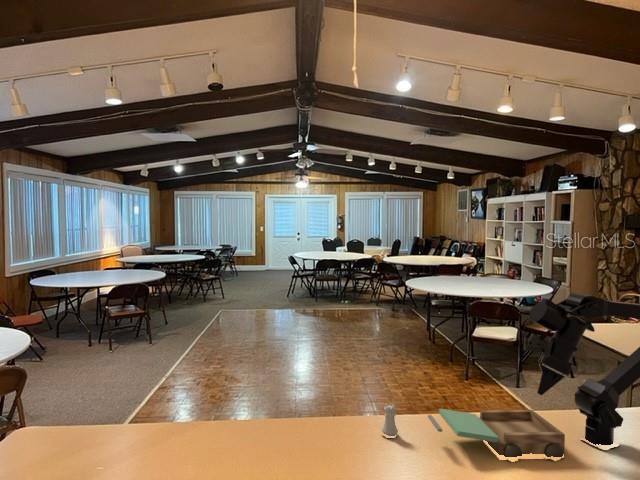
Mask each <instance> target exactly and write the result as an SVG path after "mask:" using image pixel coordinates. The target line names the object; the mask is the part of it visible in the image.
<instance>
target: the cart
mask: <svg viewBox="0 0 640 480" xmlns="http://www.w3.org/2000/svg"><path fill="white" fill-rule="evenodd" d="M479 413H480V414H479V415H480V417H479V418H480V419H481V420H482V421H483V422H484V423H485V424H486V425H487V426H488V427H489V428H490V429H491V430H492V431H493V432H494V433H495V434H496V435H497V436H498V437H499V438H498V442H492V441H487V442H488V444H489V445H490V446H491V447H492V448H493V449H494V450H495V451H496V452H497V453H498V454H499V455H504V456H505V457H517V456H522V454H530V453H532V454H545V455H546V456H547V457H551V456H553V457H562V456H563V454H564V455H565V451H566V450H565V446H566V445H565V441H566V437H565V436H566V435H565V433H564V432H562V430H560V429H559V428H557V427H556V426H554V425H553V424H552V423H551V422H549V421H548V420H546V419H545V418H544V417H542V416H541V415H540V414H538V413H537V412H535V410H533V409H499V410H497V409H495V410H493V409H492V410H487V409H486V410H480V411H479Z"/></svg>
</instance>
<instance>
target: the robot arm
mask: <svg viewBox="0 0 640 480" xmlns="http://www.w3.org/2000/svg"><path fill="white" fill-rule="evenodd" d="M528 315H529V320H530V321H531V322H533V323H535V324H536V325H538V326H540V327H541V328H544V329H546V330H548V331H550V332H554V334H553V336H552V337H550V338H549V340H544V339H543V340H542V339H540V337H539V335H535V334H531V336H530V337H529V338H528V337H524V338H523V340H524V341H523V351H526V352H530V351H531V352H537V353H542V355H541V356H540V357H539V359H538V362H539V363H538V365H539V369H540V371H541V375H540V379H539V384H538V388H537V390H536V391H537V392H536V393H537V395H540V396H543V395H544V394H546V393H547V392H548V391H549V390H551V389H552V388H553V387H554V386H556V384H558V383H559V382H561V381H562V380H564V378H565V377H569V375H570V374H571V372H572V370H573V369H572V367H571V362H572V359H573V357H574V355H575V353H577V351H578V347H579V344H580V343H581V340H582V338H583V336H584V333H585V332H586V331H589V332H591V333H593V332H595V331H596V329H595V327H594V325H593V324H592V321H591V320H592V319H601V318H605V317H610V316H611V317H618V318H619V317H620V318H627V319H628V318H629V319H637V320H638V319H639V320H640V303H633V302H625V301H614V300H607V299H605V298H602V297H599V296H595V295H589V294H585V293H581V292H580V293H579V292H572V293H570V294H569V295H567V297H566V298H564V299H563V300H561V301H560V302H558V303H554V302H553V301H552V300H550V299H548V298H545V297H542V299H541V300H540V301H539V302H537V303H535V304H534V306H532V307H531V309H530V312H529V314H528ZM568 315H570V316H568ZM580 317H583V318H584V319H581V318H580ZM585 318H587V319H585ZM589 319H591V320H589ZM639 379H640V346H639V347H637V349H635V350H634V351H633V352H632V353H631V354H629V355H628V356H627V357H626V358H625V359H624V360H623V361H622V362H621V363H619V364H618V365H617V366H616V367H615V368H613V370H611V371H610V372H609V373H608V374H607V375H605V377H603V378H602V379H600V380H596V381H595V380H594V379H591V378H587V379H586V380H585V381H584V382H583V384H581V385H579V386H577V390H576V391H575V393H574V403H575V405H576V407H578V410H579V413H580V414H582V415H584V416H585V417H586V418H585V427H584V436H585V439H586V440H588V441H589V442H591V443H593V444H595V445H596V444H598V445H599V444H601V445H611V444H613V442H614V439H615V438H614V433H615V432H614V431H615V429H617V428H619V427H621V428H622V424H623V422H624V417H623V416H621V414H620V413H619V412H618V411H617V410H616V409H617V408H618V406H619V401H620V396H621V395H622V394H623V393H625V392H626V390H628V389H629V388H630V387H631V386H632V385H633V384H634V383H636V382H637V381H638V380H639Z"/></svg>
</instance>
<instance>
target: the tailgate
mask: <svg viewBox="0 0 640 480" xmlns="http://www.w3.org/2000/svg"><path fill="white" fill-rule="evenodd" d="M438 414H439V416H440V417H441V418H442V419H443V421H444V422H445V423H446V424H447V425H448V427H449V428H450V429H451V430H452V431H453V433H454V434H455V435H456V436H457V437H459V438H460V437H461V438H468V439H472V440H480V441H481V440H485V441H492V442H498V438H499V437H498V436H497V435H496V434H495V433H494V432H493V431H492V430H491V429H490V428H489V427H488V426H487V425H486V424H485V423H484V422H483V421H482V420H481V419H480V417H479V416H478V415H477V414H475V413H469V412H464V411H463V412H462V411H458V410H451V409H444V408H439V409H438ZM427 418H428V419H429V421H430V422H431V423H432V425H433V427H434V428H435V429H436V431H437V432H439V433H440V432H441V433H442V432H443V428H442V427H441V426H440V424H439V423H438V422H437V420H436V419H435V418H434V417H433V415H431V414H428V415H427Z"/></svg>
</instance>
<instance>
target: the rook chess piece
mask: <svg viewBox="0 0 640 480" xmlns="http://www.w3.org/2000/svg"><path fill="white" fill-rule="evenodd" d="M383 410H384V411H385V412H384V416H385V417H384V424H383V425H382V427H381V432H383V433H384V434H386V435H388V436H395V435H397V433H398V432H399V430H398V428H397V425H396V421H395V419H396V418H395V417H396V414H395V413H396V411H397V408H396V406H395V404H393V403H386V404H384V408H383Z"/></svg>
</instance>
